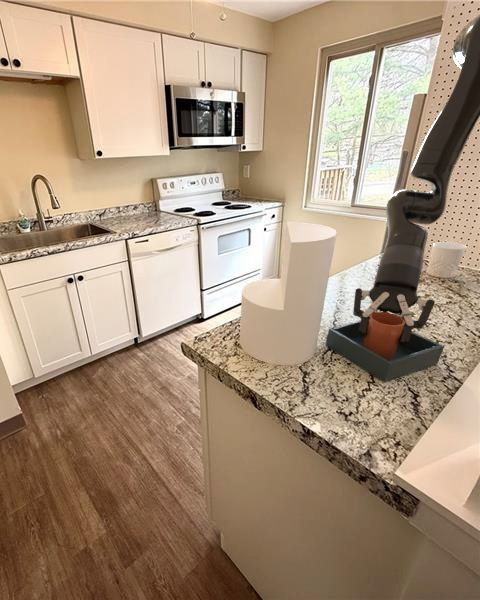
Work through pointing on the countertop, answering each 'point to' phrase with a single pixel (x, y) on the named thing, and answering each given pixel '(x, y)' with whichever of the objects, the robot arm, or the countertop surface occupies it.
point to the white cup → (445, 259)
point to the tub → (405, 361)
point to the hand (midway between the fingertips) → (381, 339)
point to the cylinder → (289, 299)
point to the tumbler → (383, 334)
